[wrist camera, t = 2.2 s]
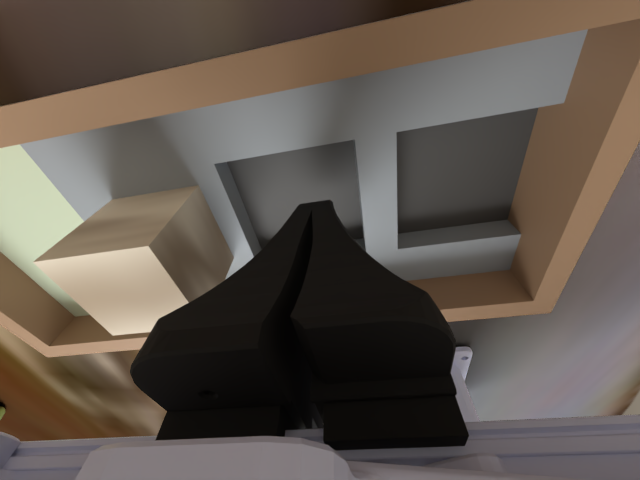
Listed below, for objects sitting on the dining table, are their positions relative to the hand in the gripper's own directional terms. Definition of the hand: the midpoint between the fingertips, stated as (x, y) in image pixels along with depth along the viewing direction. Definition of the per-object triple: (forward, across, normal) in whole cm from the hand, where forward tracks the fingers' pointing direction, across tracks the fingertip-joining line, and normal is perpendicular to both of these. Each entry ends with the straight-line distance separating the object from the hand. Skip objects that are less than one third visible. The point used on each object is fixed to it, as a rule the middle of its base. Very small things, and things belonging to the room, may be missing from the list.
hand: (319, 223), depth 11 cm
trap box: (+2, +4, 0) cm, 4 cm away
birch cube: (+1, +7, 0) cm, 7 cm away
